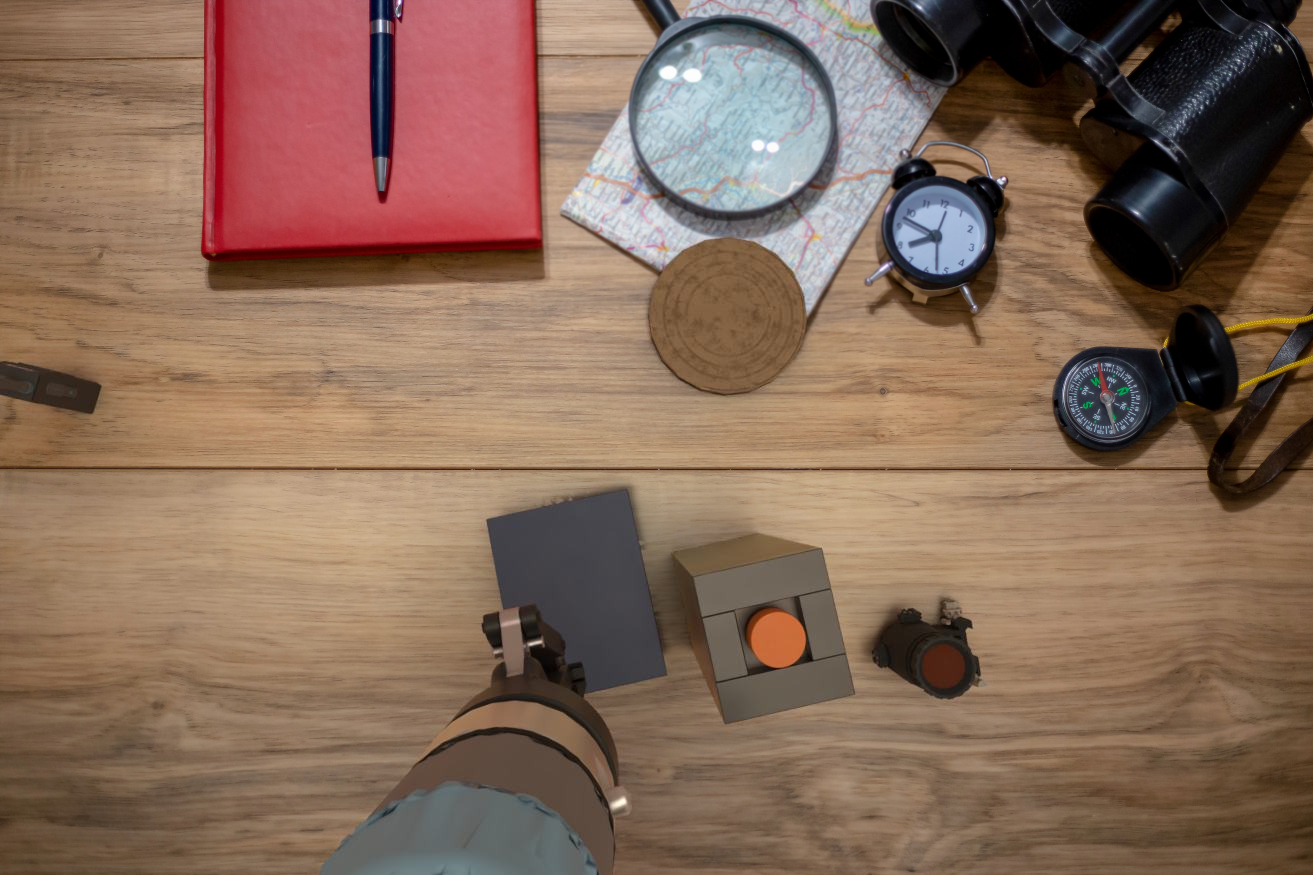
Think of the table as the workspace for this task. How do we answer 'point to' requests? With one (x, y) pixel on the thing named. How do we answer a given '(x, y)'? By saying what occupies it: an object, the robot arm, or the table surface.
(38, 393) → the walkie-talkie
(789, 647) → the button
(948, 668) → the red dot sight
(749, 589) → the button post
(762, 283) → the brown round disc
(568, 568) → the lid
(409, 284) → the table surface
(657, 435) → the table surface
